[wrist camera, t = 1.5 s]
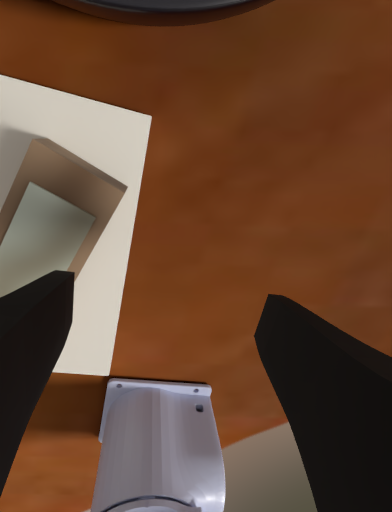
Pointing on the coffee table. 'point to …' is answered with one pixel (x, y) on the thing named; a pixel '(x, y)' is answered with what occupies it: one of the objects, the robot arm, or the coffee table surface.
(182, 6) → the round tray
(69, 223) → the frame
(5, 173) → the wall board
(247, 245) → the coffee table surface
